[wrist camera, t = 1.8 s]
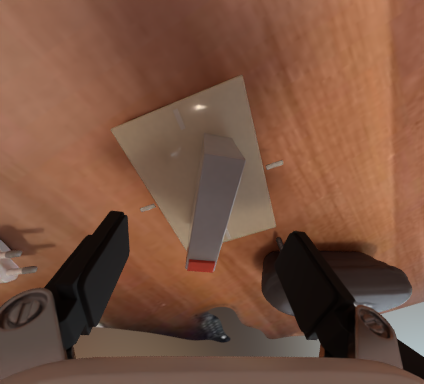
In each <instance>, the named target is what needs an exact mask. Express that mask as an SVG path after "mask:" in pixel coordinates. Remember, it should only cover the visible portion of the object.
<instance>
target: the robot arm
mask: <svg viewBox="0 0 424 384" xmlns="http://www.w3.org/2000/svg"><path fill="white" fill-rule="evenodd" d="M129 251H130V250H129V234H128V218H127V215H124V213H123V212H118V211H110V212H109V214H108V215H107V216H106V218H105V219H104V220H103V221H102V223H101V224H100V225H99V227H98V228H97V229H96V230H95V232H94V233H93V234H92V235H88V236H86V237H85V238H84V239H83V241H82V242H81V243H80V244H79V246H78V247H77V248H76V249H75V250H74V252H73V253H72V254H71V255H70V257H69V258H68V259H67V260H66V262H65V263H64V264H63V265H62V266H61V268H60V269H59V270H58V271H57V273H56V274H55V275H54V276H53V278H52V279H51V280H50V281H49V282H48V284H47V285H46V286H45V287H44V288H35V289H30V290H27V291H24V292H22V293H20V294H18V295H16V296H14V297H12V298H11V299H9V300H8V301H7V302H5V303H4V304H3V305H2V306H1V307H0V384H424V357H423V356H421V355H420V354H419V353H417V352H415V351H414V350H413V349H411V348H410V347H408V346H407V345H405V344H404V343H402V342H401V341H399V340H398V339H397V338H396V334H395V332H394V330H393V328H392V327H391V325H390V324H389V323H388V321H387V320H386V319H385V318H384V317H382V315H380V314H379V313H378V312H377V311H375V310H374V309H372V308H370V307H368V306H365V305H358V306H356V307H355V305H354V304H353V303H354V302H355V301H356V300H355V299H354V297H353V296H352V295H351V293H350V292H349V291H348V289H347V288H346V287H345V285H344V284H343V283H342V281H341V280H340V279H339V277H338V276H337V275H336V273H335V272H334V271H333V269H332V268H331V267H330V265H329V264H328V263H327V261H326V260H325V259H324V257H323V256H322V255H321V253H320V252H319V251H318V249H317V248H316V247H315V245H314V244H313V242H312V241H311V240H310V238H309V237H308V236H307V234H306V233H305V232H299V231H293V232H292V233H290V234H289V236H288V238H287V240H286V242H285V244H284V246H283V248H282V250H281V252H280V254H279V256H278V257H277V259H276V261H275V264H274V267H275V271H276V273H277V275H278V278H279V280H280V282H281V285H282V287H283V290H284V292H285V294H286V297H287V299H288V302H289V304H290V306H291V309H292V311H293V313H294V316H295V318H296V321H297V323H298V325H299V328H300V330H301V331H302V332H304V334H305V337H306V339H307V340H317V339H319V341H320V343H321V345H320V352H319V357H215V356H214V357H210V356H205V357H204V356H203V357H202V356H187V357H186V356H161V357H160V356H154V357H153V356H149V357H148V356H137V357H136V356H134V357H93V358H79V359H76V356H75V352H74V347H73V345H74V344H76V343H77V341H78V339H79V337H80V335H89V334H90V332H91V329H92V327H96V326H97V325H98V323H99V321H100V319H101V317H102V315H103V312H104V310H105V308H106V306H107V303H108V301H109V299H110V297H111V294H112V292H113V290H114V288H115V286H116V283H117V281H118V279H119V277H120V274H121V272H122V270H123V268H124V265H125V263H126V261H127V259H128V256H129Z"/></svg>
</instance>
